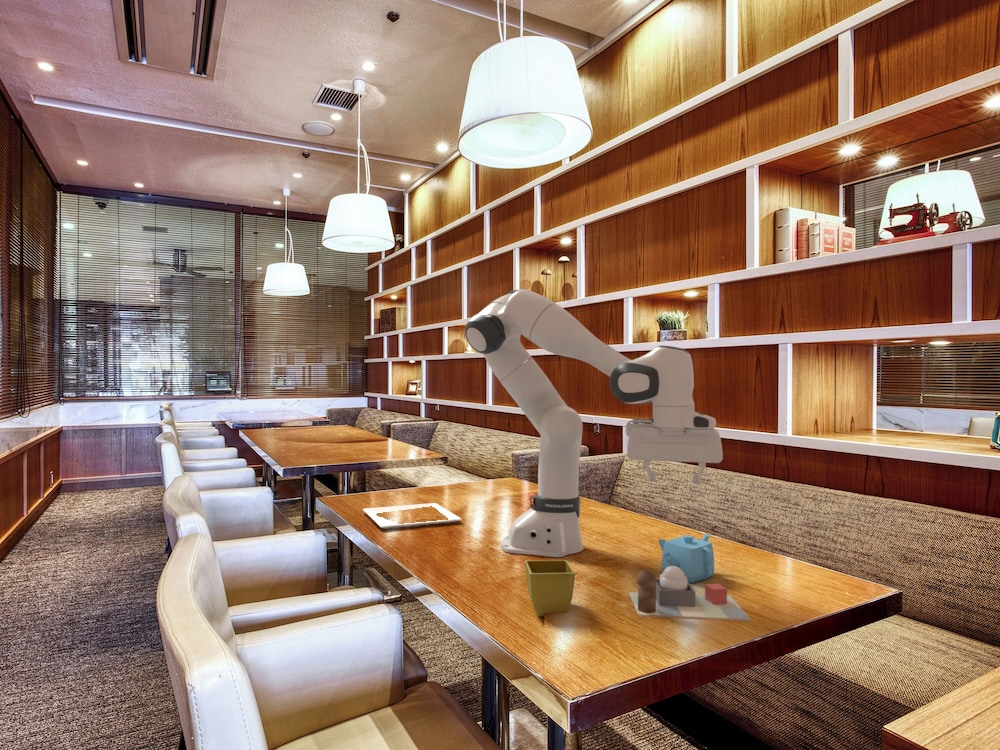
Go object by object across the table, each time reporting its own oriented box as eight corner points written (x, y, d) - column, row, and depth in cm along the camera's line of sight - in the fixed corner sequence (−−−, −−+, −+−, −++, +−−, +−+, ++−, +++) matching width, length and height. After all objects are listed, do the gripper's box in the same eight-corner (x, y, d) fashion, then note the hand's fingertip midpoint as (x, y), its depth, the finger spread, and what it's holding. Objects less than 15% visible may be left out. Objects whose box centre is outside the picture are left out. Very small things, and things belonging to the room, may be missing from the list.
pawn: (638, 613, 111) (638, 572, 111) (635, 605, 115) (635, 566, 115) (658, 613, 111) (658, 573, 111) (654, 606, 115) (654, 567, 115)
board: (638, 621, 110) (639, 600, 110) (628, 596, 123) (628, 577, 123) (753, 626, 108) (753, 605, 108) (730, 600, 121) (730, 581, 121)
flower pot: (523, 603, 118) (524, 559, 118) (566, 603, 118) (566, 559, 119) (529, 621, 109) (530, 573, 109) (575, 620, 110) (576, 573, 110)
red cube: (713, 604, 116) (713, 589, 116) (705, 599, 119) (705, 584, 119) (726, 603, 117) (726, 588, 117) (718, 598, 120) (718, 583, 120)
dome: (662, 596, 116) (663, 570, 116) (657, 586, 121) (657, 561, 121) (690, 597, 116) (690, 571, 116) (683, 587, 121) (683, 562, 121)
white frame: (362, 514, 196) (362, 508, 196) (435, 508, 207) (436, 502, 207) (380, 533, 172) (380, 526, 172) (462, 525, 183) (462, 518, 183)
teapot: (690, 596, 123) (691, 548, 123) (636, 578, 134) (637, 534, 134) (733, 579, 135) (734, 535, 135) (680, 563, 146) (681, 523, 146)
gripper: (623, 419, 129) (624, 481, 128) (722, 420, 121) (723, 486, 121) (628, 417, 134) (628, 477, 134) (722, 418, 127) (723, 481, 127)
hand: (674, 481), depth 128 cm, fingers open, 8 cm apart
